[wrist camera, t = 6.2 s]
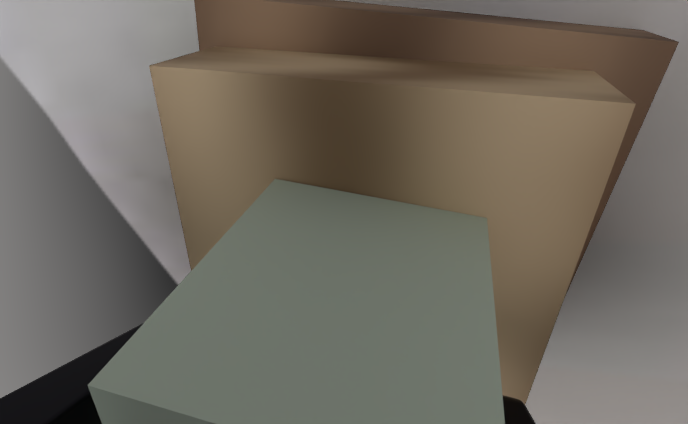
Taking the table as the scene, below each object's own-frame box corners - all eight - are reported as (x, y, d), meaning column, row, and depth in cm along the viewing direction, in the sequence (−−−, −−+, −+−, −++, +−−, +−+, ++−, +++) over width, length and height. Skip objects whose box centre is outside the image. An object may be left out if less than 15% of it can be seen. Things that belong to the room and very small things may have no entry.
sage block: (487, 217, 9) (512, 512, 4) (442, 367, 12) (426, 661, 7) (275, 178, 10) (87, 385, 5) (276, 325, 13) (153, 559, 8)
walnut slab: (633, 27, 12) (678, 41, 9) (516, 329, 18) (524, 388, 15) (243, -11, 14) (193, -7, 12) (256, 271, 20) (226, 313, 18)
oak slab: (593, 70, 10) (636, 104, 8) (505, 359, 15) (513, 437, 12) (215, 46, 12) (149, 66, 10) (248, 306, 17) (210, 364, 15)
